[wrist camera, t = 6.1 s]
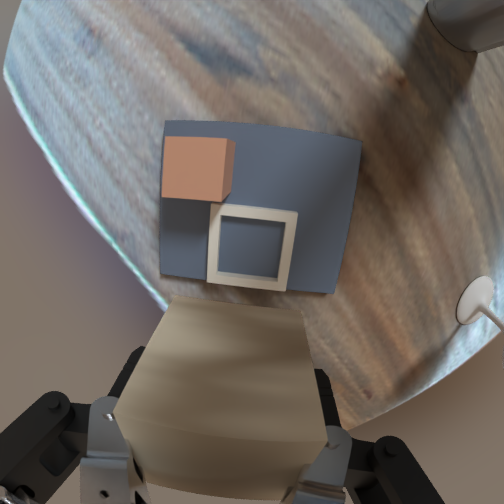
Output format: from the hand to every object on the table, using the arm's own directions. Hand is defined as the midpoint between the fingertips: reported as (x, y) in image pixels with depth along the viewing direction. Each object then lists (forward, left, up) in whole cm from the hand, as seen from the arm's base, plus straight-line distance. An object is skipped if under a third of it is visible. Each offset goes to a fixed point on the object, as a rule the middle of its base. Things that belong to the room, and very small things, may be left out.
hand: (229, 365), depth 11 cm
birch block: (0, 0, -1) cm, 1 cm away
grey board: (0, -3, -20) cm, 21 cm away
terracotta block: (+5, -7, -19) cm, 21 cm away
